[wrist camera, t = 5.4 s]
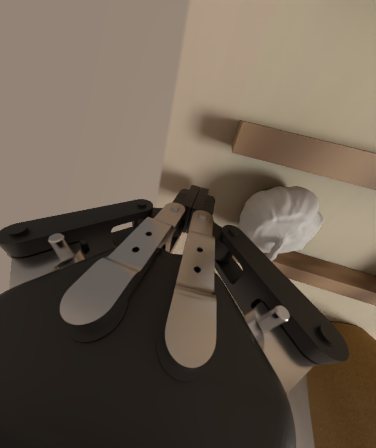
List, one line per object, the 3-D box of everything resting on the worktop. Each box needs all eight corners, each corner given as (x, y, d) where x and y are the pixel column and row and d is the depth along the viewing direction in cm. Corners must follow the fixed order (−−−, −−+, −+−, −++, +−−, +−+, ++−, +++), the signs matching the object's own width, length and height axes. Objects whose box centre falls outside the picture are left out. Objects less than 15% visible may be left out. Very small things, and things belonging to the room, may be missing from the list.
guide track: (610, 210, 8) (795, 257, 6) (396, 294, 15) (431, 332, 13) (240, 120, 10) (244, 122, 7) (201, 235, 17) (195, 257, 14)
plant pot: (349, 356, 26) (454, 572, 14) (265, 331, 28) (294, 502, 16) (451, 333, 17) (1054, 928, 5) (317, 297, 19) (488, 657, 6)
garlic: (258, 239, 15) (268, 283, 11) (223, 208, 14) (220, 245, 10) (322, 206, 12) (370, 252, 8) (283, 160, 11) (315, 188, 7)
